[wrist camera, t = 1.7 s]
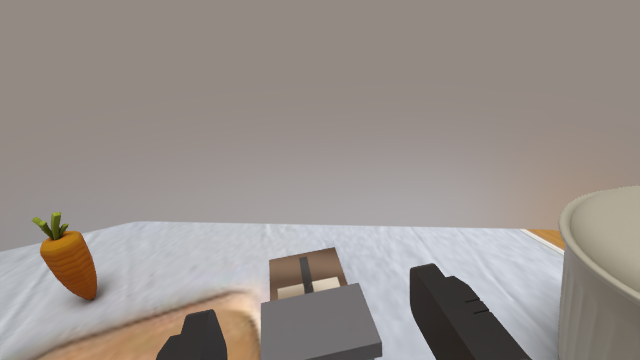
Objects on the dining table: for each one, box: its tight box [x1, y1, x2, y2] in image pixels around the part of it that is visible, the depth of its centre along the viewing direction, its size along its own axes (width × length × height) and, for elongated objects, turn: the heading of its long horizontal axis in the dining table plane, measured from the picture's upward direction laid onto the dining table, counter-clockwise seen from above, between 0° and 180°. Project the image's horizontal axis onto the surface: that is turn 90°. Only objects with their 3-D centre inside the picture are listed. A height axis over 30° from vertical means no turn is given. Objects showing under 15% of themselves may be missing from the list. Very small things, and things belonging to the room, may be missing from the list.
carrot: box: [32, 212, 97, 300], centre depth 45 cm, size 5×5×15 cm
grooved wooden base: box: [269, 247, 347, 301], centre depth 36 cm, size 28×10×3 cm, turn 9°
